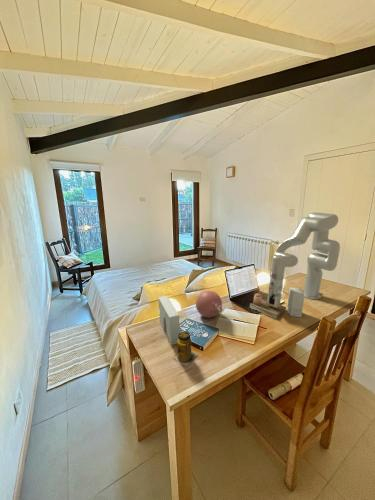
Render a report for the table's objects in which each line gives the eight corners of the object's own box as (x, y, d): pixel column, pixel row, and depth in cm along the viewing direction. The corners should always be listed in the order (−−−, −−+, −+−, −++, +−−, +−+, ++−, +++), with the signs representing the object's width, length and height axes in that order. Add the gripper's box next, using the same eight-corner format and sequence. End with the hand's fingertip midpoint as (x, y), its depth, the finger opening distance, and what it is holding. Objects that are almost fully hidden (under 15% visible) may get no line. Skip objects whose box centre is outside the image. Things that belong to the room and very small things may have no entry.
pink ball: (206, 330, 113) (207, 304, 109) (191, 311, 131) (191, 288, 127) (230, 324, 118) (232, 299, 114) (213, 306, 136) (214, 284, 132)
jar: (255, 301, 139) (256, 292, 137) (262, 304, 136) (263, 294, 134) (252, 304, 136) (252, 294, 134) (258, 306, 133) (259, 297, 131)
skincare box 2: (301, 317, 125) (305, 294, 121) (289, 316, 126) (293, 292, 122) (297, 310, 133) (301, 287, 129) (286, 309, 134) (289, 286, 130)
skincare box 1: (158, 321, 120) (157, 296, 116) (167, 319, 122) (167, 294, 118) (169, 346, 101) (169, 316, 97) (180, 343, 103) (180, 314, 99)
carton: (279, 305, 132) (281, 293, 130) (276, 308, 129) (278, 296, 127) (269, 301, 136) (270, 290, 134) (266, 304, 133) (267, 292, 131)
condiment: (173, 358, 94) (173, 335, 91) (185, 348, 100) (185, 326, 97) (185, 366, 89) (186, 342, 86) (198, 355, 95) (198, 332, 92)
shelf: (260, 300, 145) (260, 296, 144) (285, 309, 133) (286, 305, 133) (249, 308, 135) (249, 303, 134) (275, 319, 123) (276, 314, 122)
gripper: (277, 281, 119) (273, 309, 124) (288, 273, 131) (284, 299, 135) (264, 277, 124) (261, 305, 129) (276, 270, 136) (273, 295, 141)
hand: (273, 302), depth 132 cm, fingers closed on carton, 4 cm apart
